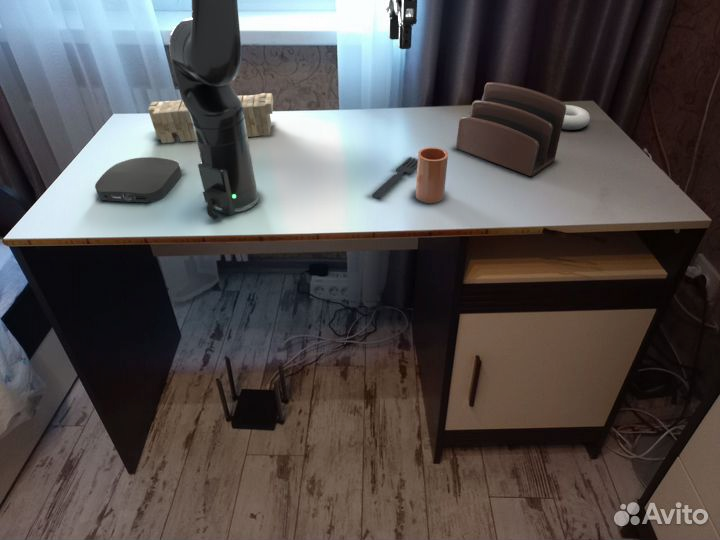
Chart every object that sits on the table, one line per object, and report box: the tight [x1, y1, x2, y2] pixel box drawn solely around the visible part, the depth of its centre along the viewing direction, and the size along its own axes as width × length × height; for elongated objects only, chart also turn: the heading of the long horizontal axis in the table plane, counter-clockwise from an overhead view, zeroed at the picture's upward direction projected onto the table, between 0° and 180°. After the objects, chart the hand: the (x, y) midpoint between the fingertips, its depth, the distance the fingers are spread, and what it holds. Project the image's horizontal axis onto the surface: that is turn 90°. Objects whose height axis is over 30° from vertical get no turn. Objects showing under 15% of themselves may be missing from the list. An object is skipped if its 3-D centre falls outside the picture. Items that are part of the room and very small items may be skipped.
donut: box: [561, 104, 591, 131], centre depth 125 cm, size 10×3×10 cm
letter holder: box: [455, 81, 566, 178], centre depth 110 cm, size 10×20×14 cm, turn 45°
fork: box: [371, 156, 418, 200], centre depth 107 cm, size 18×3×1 cm, turn 149°
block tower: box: [147, 92, 274, 144], centre depth 124 cm, size 8×8×29 cm
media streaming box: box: [94, 156, 182, 203], centre depth 106 cm, size 15×15×3 cm
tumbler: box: [415, 146, 449, 204], centre depth 99 cm, size 6×6×9 cm
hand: (399, 43), depth 96 cm, fingers open, 8 cm apart
